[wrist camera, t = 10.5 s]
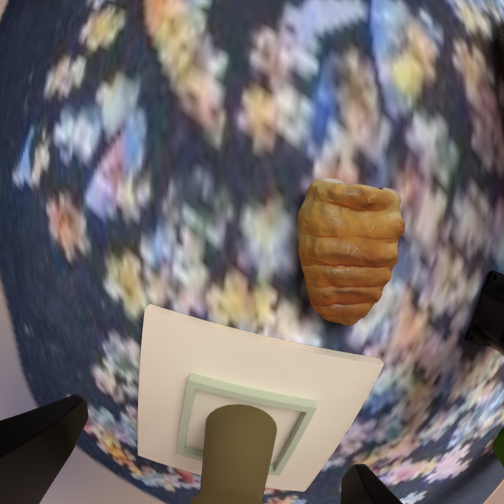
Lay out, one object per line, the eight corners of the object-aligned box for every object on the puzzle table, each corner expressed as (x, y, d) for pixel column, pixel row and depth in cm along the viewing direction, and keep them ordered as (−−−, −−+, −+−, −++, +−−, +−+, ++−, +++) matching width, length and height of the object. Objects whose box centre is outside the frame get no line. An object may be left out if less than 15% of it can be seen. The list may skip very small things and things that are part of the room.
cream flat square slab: (380, 358, 20) (388, 371, 18) (304, 484, 24) (305, 498, 22) (150, 304, 21) (139, 314, 19) (141, 449, 24) (134, 461, 22)
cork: (235, 457, 22) (219, 555, 11) (190, 420, 22) (154, 524, 11) (291, 434, 21) (295, 544, 10) (247, 393, 21) (230, 515, 10)
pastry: (378, 316, 20) (396, 339, 16) (288, 313, 20) (291, 338, 17) (394, 186, 18) (419, 185, 14) (298, 176, 19) (304, 172, 15)
